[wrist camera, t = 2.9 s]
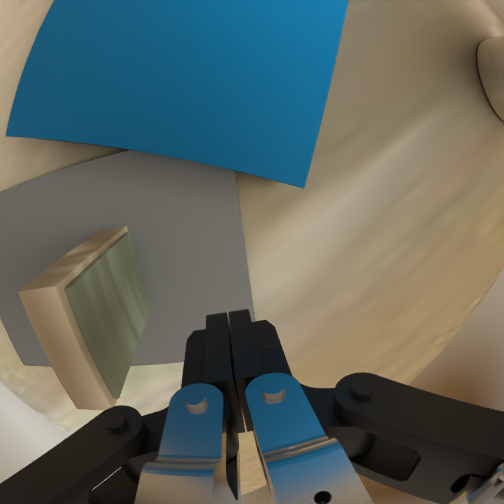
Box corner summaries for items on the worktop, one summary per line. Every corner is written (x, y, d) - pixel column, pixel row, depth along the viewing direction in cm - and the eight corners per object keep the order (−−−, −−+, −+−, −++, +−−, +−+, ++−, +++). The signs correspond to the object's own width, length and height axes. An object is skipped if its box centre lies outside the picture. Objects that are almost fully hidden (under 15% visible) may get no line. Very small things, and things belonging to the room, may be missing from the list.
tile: (131, 225, 17) (61, 285, 8) (153, 311, 19) (119, 410, 10) (99, 231, 17) (18, 291, 8) (123, 315, 19) (77, 408, 10)
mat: (229, 132, 16) (229, 131, 16) (258, 347, 21) (259, 352, 21) (-29, 206, 15) (-33, 207, 14) (26, 361, 20) (23, 365, 19)
